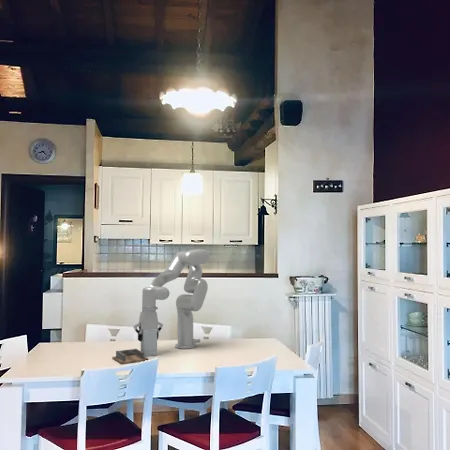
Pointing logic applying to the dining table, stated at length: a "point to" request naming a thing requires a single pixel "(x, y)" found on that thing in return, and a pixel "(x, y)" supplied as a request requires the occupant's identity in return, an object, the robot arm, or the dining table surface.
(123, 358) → the u rest
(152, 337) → the skincare box
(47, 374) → the dining table surface
